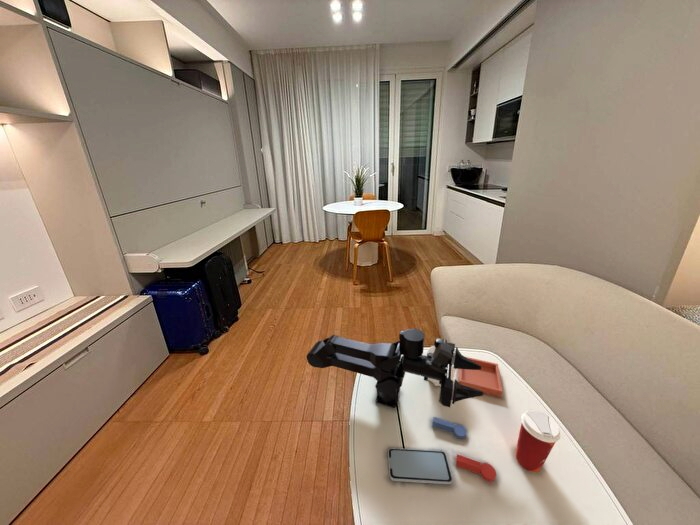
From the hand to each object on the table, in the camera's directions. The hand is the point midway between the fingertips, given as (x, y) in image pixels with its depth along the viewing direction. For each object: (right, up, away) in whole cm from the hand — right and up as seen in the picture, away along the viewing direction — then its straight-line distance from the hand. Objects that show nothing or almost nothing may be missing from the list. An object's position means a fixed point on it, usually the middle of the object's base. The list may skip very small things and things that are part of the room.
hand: (482, 380), depth 71 cm
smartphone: (-18, -20, -4) cm, 27 cm away
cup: (-4, -9, +22) cm, 24 cm away
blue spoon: (-7, -16, +5) cm, 18 cm away
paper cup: (+10, -19, -3) cm, 22 cm away
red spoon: (-4, -20, -5) cm, 21 cm away
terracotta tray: (+9, -9, +21) cm, 25 cm away
